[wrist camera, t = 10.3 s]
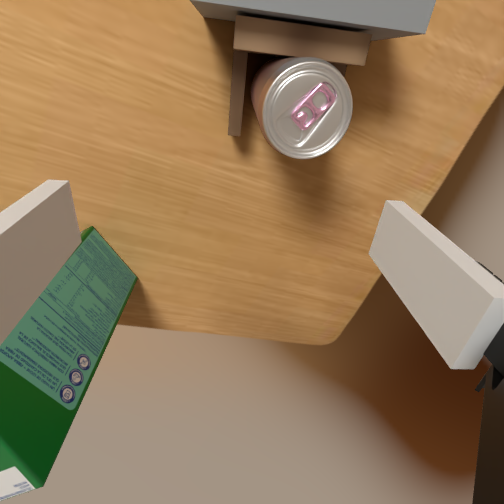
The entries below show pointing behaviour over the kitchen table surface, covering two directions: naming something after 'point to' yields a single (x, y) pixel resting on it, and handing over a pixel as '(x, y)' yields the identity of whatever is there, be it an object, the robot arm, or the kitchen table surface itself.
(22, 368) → the milk carton
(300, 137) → the beverage can
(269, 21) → the bracket
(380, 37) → the backstop
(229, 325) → the kitchen table surface
